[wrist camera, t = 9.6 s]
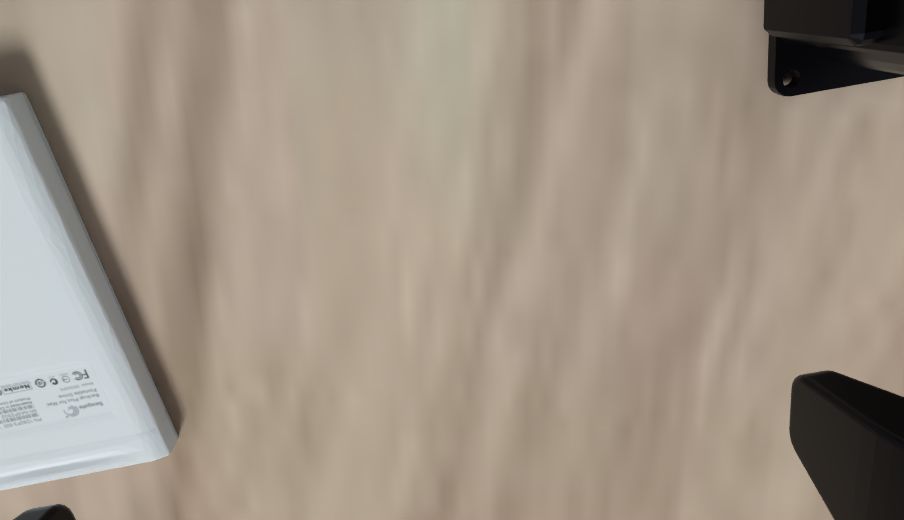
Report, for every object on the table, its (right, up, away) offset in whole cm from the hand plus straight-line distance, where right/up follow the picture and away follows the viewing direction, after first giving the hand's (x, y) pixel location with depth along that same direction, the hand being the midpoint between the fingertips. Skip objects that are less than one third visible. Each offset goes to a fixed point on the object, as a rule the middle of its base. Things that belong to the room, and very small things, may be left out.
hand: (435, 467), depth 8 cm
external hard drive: (-15, +1, +13) cm, 20 cm away
